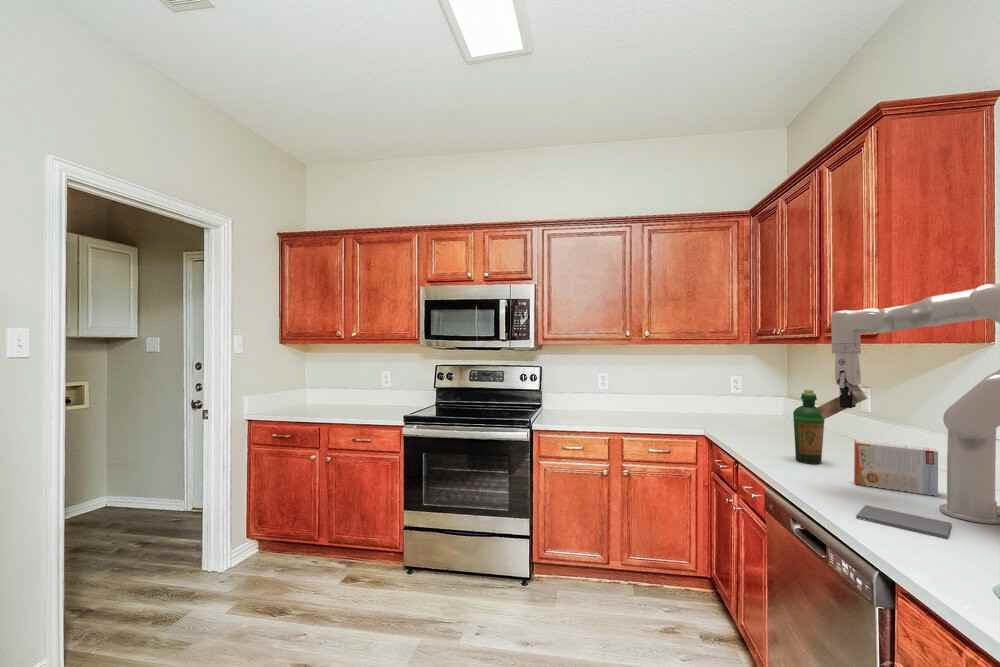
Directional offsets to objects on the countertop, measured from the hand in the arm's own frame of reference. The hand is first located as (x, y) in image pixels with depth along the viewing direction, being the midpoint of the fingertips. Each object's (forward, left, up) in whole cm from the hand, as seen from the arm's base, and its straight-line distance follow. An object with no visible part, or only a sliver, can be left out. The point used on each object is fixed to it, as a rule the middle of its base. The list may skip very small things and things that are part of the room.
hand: (847, 406), depth 155 cm
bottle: (+19, -33, -27) cm, 47 cm away
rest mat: (-16, +21, -27) cm, 38 cm away
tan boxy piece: (+1, 0, -1) cm, 1 cm away
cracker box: (+1, -13, -20) cm, 23 cm away
